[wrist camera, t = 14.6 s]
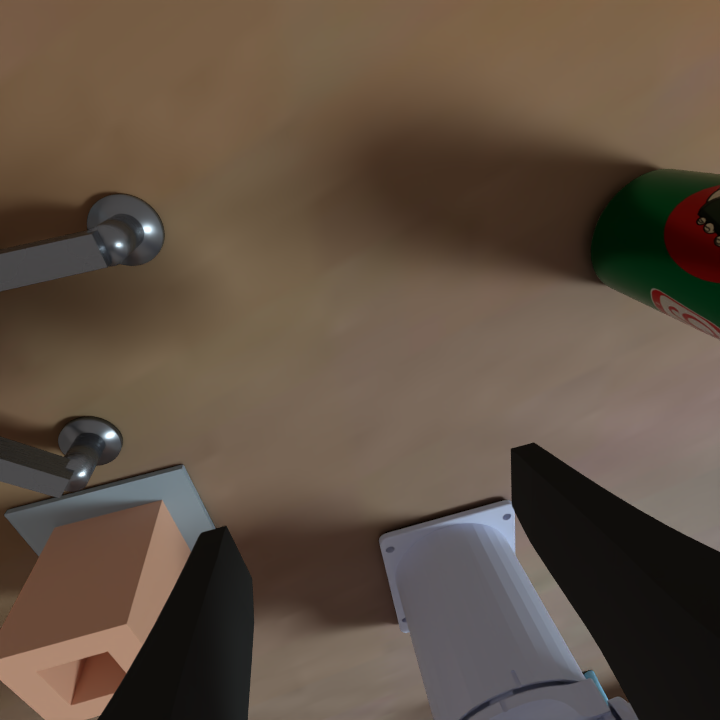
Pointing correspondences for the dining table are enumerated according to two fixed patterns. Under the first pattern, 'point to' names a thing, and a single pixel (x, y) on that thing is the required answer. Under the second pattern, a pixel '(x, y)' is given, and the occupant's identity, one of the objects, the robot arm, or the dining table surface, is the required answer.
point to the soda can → (665, 245)
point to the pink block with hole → (90, 609)
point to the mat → (116, 506)
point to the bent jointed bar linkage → (56, 260)
